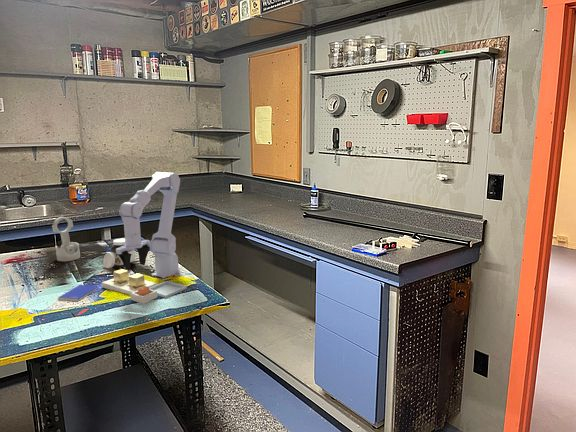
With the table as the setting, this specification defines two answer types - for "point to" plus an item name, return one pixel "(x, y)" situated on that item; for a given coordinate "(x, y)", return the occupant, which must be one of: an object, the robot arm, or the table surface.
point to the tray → (168, 289)
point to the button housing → (144, 298)
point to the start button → (143, 290)
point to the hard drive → (78, 293)
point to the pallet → (124, 286)
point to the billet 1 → (121, 276)
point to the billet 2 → (136, 280)
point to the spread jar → (116, 255)
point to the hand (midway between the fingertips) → (135, 267)
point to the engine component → (66, 243)
